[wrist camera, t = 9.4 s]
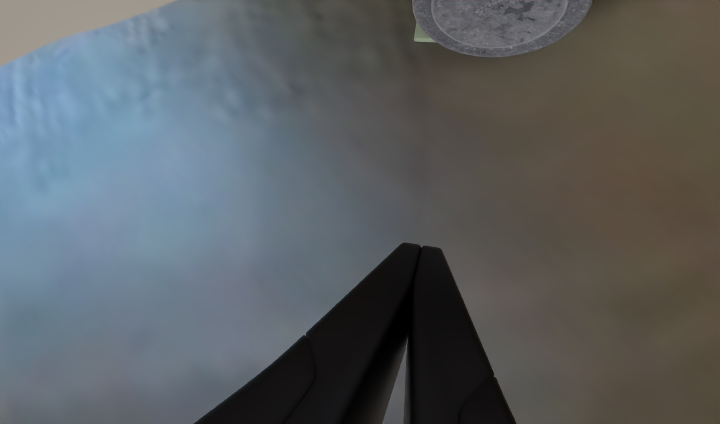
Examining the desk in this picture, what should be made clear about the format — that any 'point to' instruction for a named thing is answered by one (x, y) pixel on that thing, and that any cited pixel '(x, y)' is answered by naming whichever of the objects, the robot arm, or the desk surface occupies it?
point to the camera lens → (498, 24)
